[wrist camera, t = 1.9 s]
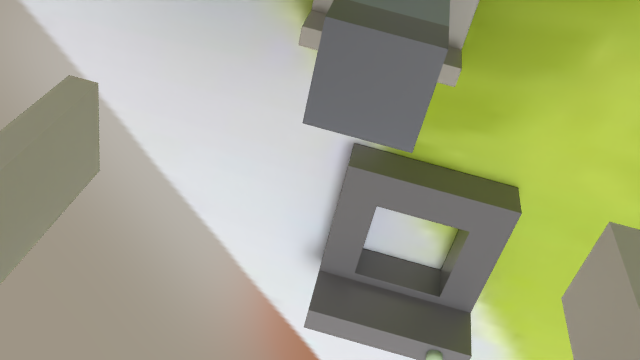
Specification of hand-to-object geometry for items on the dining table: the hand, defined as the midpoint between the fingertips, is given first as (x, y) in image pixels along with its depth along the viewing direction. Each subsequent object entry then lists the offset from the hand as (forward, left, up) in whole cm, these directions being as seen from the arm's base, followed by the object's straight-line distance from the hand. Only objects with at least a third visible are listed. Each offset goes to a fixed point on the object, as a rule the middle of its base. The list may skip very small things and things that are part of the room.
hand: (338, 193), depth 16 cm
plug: (0, 0, -18) cm, 18 cm away
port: (+15, +5, -19) cm, 24 cm away
